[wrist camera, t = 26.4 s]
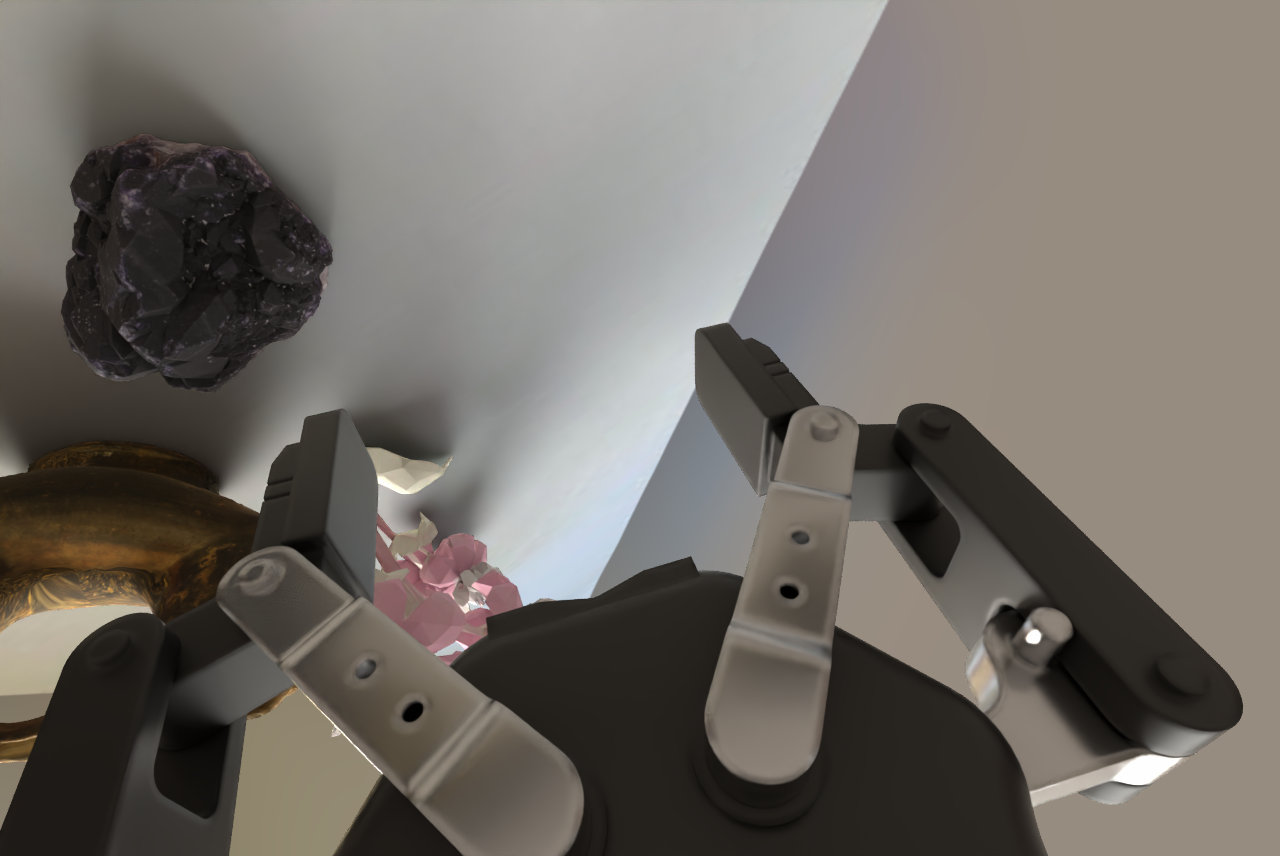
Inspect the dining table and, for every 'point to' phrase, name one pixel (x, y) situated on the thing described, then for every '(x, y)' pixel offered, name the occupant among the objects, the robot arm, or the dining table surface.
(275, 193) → the crystal cluster
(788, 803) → the robot arm
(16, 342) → the dining table surface
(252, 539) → the pottery vessel
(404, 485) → the flower
